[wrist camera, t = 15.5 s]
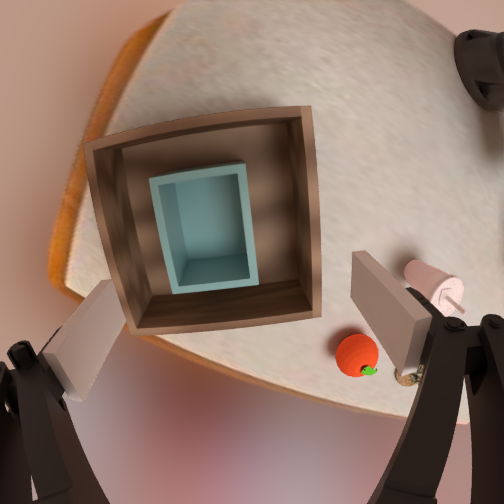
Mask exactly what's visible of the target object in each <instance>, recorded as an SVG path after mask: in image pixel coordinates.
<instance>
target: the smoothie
mask: <svg viewBox="0 0 504 504" xmlns="http://www.w3.org/2000/svg"><path fill="white" fill-rule="evenodd" d="M404 277H405V279H406V280H407V281H408V283H409V284H410V285H411V286H412V288H413V289H415V290H417V291H419V292H420V293H421V294H422V295H424V296H425V298H427V299H428V300H429V301H430V303H432V304H433V305H434V306H435V307H436V308H437V309H438V310H439V311H440V312H441V313H442V314H443V315H444V316H445V317H447V316H449V315H450V314H451V313H452V312H453V311H454V310H455V309H457V310H459V311H460V312H461V313H462V314H463V315H465V314H466V313H467V312H466V311H465V310H464V309H463V308H462V307H461V306H460V305H459V303H460V301H461V299H462V296H463V290H464V288H463V283H462V281H461V280H460V279H459V278H458V277H457V276H456V275H453V274H447V273H445V272H443V271H441V270H439V269H437V268H435V267H432V266H430V265H428V264H426V263H424V262H422V261H420V260H418V259H413V260H411V261H410V262H408V264H407V265H406V266H405V269H404Z"/></svg>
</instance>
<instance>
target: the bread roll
mask: <svg viewBox="0 0 504 504" xmlns="http://www.w3.org/2000/svg"><path fill="white" fill-rule="evenodd" d="M424 367H425V366H424V365H423V364H422V362H421V361H420V363H419V366H418V369H417V372H414V373H410V374H407V375H404V376H400V374H399V372H398V371H397V373H396V378H397V381H398V383H400V384H401V385H402V386H412V385H415V384H418V383H419V381H420V379H421V376H422V373H423V370H424Z"/></svg>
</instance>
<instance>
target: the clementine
mask: <svg viewBox="0 0 504 504" xmlns="http://www.w3.org/2000/svg"><path fill="white" fill-rule="evenodd" d="M377 361H378V348H377V345H376V343H375V342H374V341H373V340H372V339H371V338H370V337H368V336H366V335H363V334H354V335H351V336H348V337H347V338H345V339H344V340H343V341H342V342H341V343H340V345H339V346H338V348H337V351H336V362H337V366H338V367H339V369H340V370H341V371H342V372H343V373H345V374H346V375H348V376H352V377H360V376H363V375H373V374H375V373H376V372H377V369H376V370H374V369H373V368H374V367H375V365H376V363H377Z"/></svg>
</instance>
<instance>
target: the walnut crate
mask: <svg viewBox="0 0 504 504" xmlns="http://www.w3.org/2000/svg"><path fill="white" fill-rule="evenodd" d="M83 147H84V155H85V162H86V168H87V175H88V180H89V186H90V192H91V197H92V202H93V207H94V212H95V216H96V221H97V225H98V229H99V233H100V237H101V241H102V245H103V249H104V253H105V257H106V260H107V264H108V267H109V271H110V274H111V277H112V280H113V283H114V286H115V289H116V292H117V295H118V298H119V301H120V304H121V307H122V310H123V313H124V316H125V319H126V322H127V325H128V328H129V330H130V333H131V336H144V335H163V334H179V333H192V332H204V331H215V330H226V329H235V328H244V327H253V326H261V325H269V324H276V323H284V322H291V321H298V320H304V319H311V318H317V317H321V310H322V271H321V230H320V207H319V190H318V175H317V161H316V149H315V138H314V128H313V119H312V110H311V106H288V107H271V108H258V109H248V110H238V111H230V112H222V113H214V114H208V115H201V116H195V117H189V118H183V119H178V120H173V121H167V122H163V123H158V124H153V125H149V126H144V127H140V128H136V129H132V130H128V131H124V132H120V133H116V134H113V135H109V136H106V137H102V138H99V139H95V140H92V141H89V142H86V143H83ZM241 160H243V161H244V162H245V164H246V173H247V182H248V191H249V199H250V208H251V217H252V226H253V235H254V244H255V253H256V262H257V271H258V280H259V285H252V286H244V287H235V288H226V289H218V290H208V291H199V292H189V293H180V294H173V293H172V289H171V285H170V281H169V277H168V273H167V269H166V264H165V260H164V255H163V251H162V246H161V242H160V237H159V232H158V227H157V222H156V217H155V211H154V206H153V200H152V195H151V189H150V183H149V178H151V177H154V176H157V175H159V174H162V173H165V172H167V171H172V170H178V169H184V168H190V167H197V166H203V165H210V164H217V163H225V162H233V161H241Z"/></svg>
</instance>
